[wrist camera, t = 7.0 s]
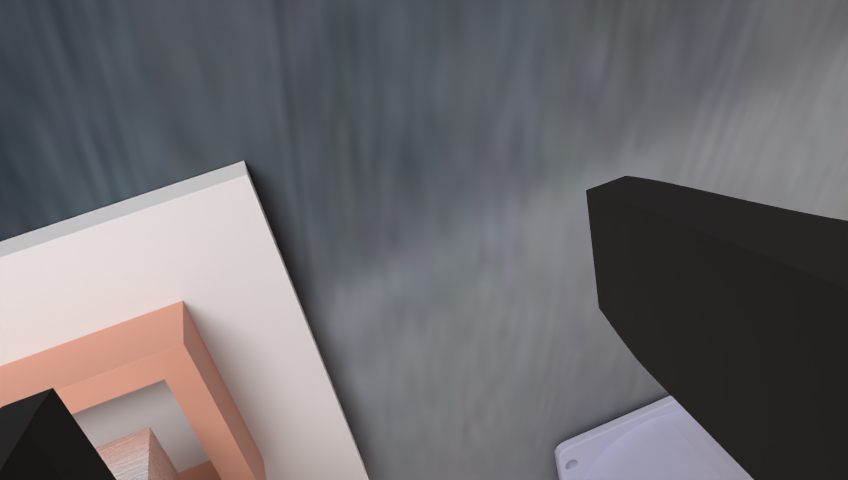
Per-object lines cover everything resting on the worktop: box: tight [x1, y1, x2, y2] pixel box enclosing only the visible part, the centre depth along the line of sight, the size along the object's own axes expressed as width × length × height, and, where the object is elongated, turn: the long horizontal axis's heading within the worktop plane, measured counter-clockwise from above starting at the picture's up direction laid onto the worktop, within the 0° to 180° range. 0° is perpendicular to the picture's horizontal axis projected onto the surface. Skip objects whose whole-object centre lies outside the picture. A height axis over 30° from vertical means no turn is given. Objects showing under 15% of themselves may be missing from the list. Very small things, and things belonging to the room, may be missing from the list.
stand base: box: [0, 161, 369, 480], centre depth 19 cm, size 12×12×4 cm
